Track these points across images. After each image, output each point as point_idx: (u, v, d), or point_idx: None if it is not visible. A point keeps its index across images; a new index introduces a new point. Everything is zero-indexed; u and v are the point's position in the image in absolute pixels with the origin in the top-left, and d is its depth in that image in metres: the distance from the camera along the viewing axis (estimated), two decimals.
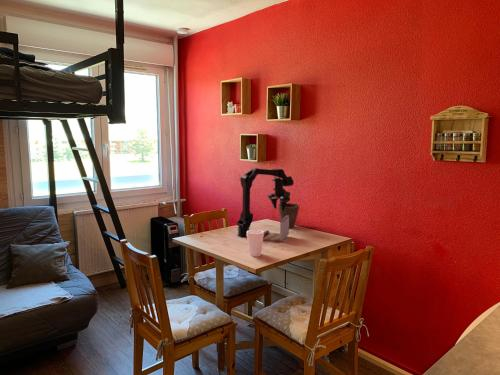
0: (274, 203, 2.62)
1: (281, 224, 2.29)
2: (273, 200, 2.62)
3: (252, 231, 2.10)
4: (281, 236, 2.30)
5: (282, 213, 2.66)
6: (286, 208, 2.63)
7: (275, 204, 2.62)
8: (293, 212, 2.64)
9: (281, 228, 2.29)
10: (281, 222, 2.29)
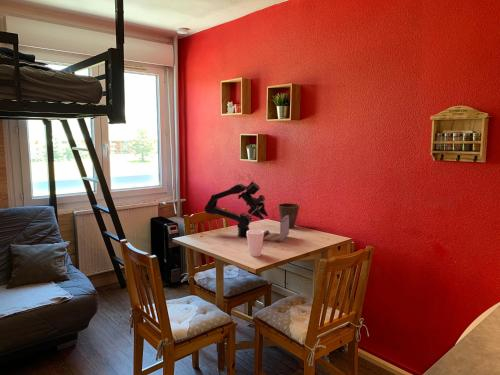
0: (263, 212, 2.46)
1: (281, 224, 2.29)
2: (260, 210, 2.46)
3: (252, 231, 2.10)
4: (281, 236, 2.30)
5: (282, 213, 2.66)
6: (286, 208, 2.63)
7: (264, 212, 2.45)
8: (293, 212, 2.64)
9: (281, 228, 2.29)
10: (281, 222, 2.29)
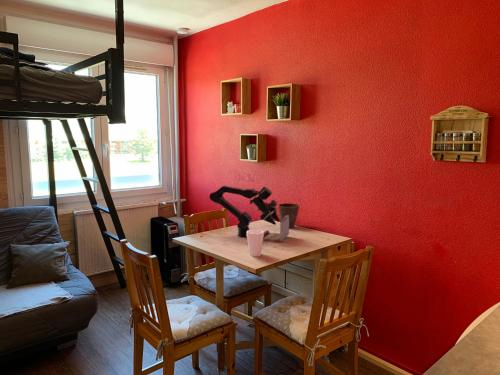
0: (275, 217, 2.43)
1: (281, 224, 2.29)
2: (272, 215, 2.44)
3: (252, 231, 2.10)
4: (281, 236, 2.30)
5: (282, 213, 2.66)
6: (286, 208, 2.63)
7: (276, 217, 2.43)
8: (293, 212, 2.64)
9: (281, 228, 2.29)
10: (281, 222, 2.29)
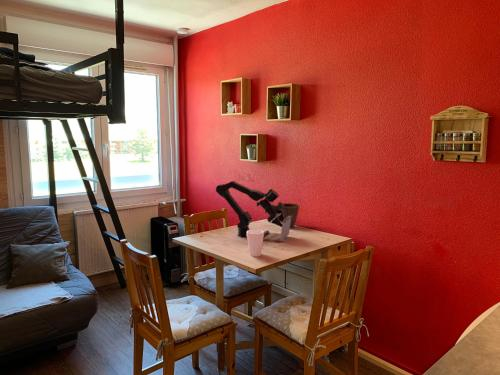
0: (282, 220, 2.42)
1: (283, 224, 2.29)
2: (279, 218, 2.43)
3: (252, 231, 2.10)
4: (281, 236, 2.30)
5: None
6: (286, 208, 2.63)
7: None
8: (293, 212, 2.64)
9: (282, 228, 2.29)
10: (283, 222, 2.28)
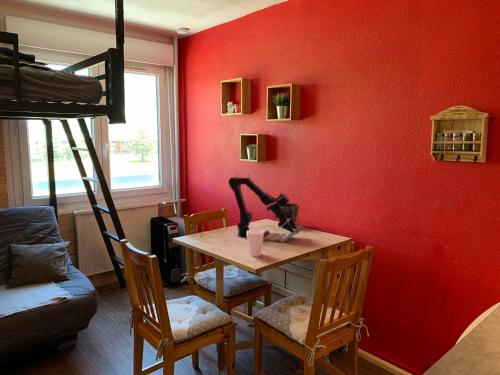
0: (292, 224, 2.40)
1: (294, 233, 2.27)
2: (289, 222, 2.41)
3: (252, 231, 2.10)
4: (284, 239, 2.30)
5: None
6: (286, 208, 2.63)
7: (293, 225, 2.40)
8: None
9: (290, 235, 2.28)
10: (295, 232, 2.27)
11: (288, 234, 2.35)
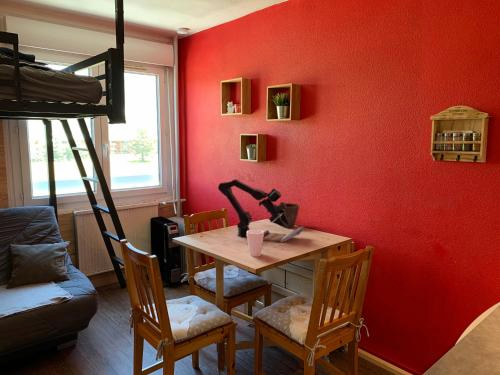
0: (283, 220, 2.42)
1: (294, 234, 2.27)
2: (281, 218, 2.42)
3: (252, 231, 2.10)
4: (284, 239, 2.30)
5: None
6: (286, 208, 2.63)
7: (285, 220, 2.41)
8: (293, 212, 2.64)
9: (291, 236, 2.28)
10: (296, 233, 2.27)
11: (288, 235, 2.35)
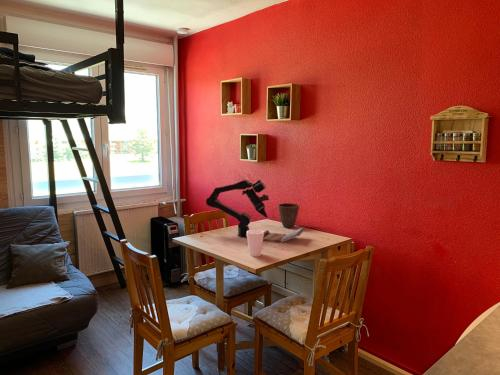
0: None
1: (295, 235, 2.27)
2: None
3: (252, 231, 2.10)
4: (284, 240, 2.30)
5: (282, 213, 2.66)
6: (286, 208, 2.63)
7: None
8: (293, 212, 2.64)
9: (291, 237, 2.28)
10: (297, 234, 2.27)
11: (288, 235, 2.35)
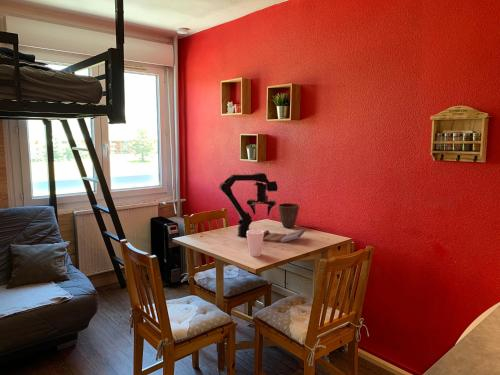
0: (254, 209, 2.50)
1: (295, 237, 2.27)
2: (253, 206, 2.49)
3: (252, 231, 2.10)
4: (284, 240, 2.30)
5: (282, 213, 2.66)
6: (286, 208, 2.63)
7: (254, 210, 2.50)
8: (293, 212, 2.64)
9: (291, 238, 2.28)
10: (297, 236, 2.27)
11: (289, 236, 2.35)
